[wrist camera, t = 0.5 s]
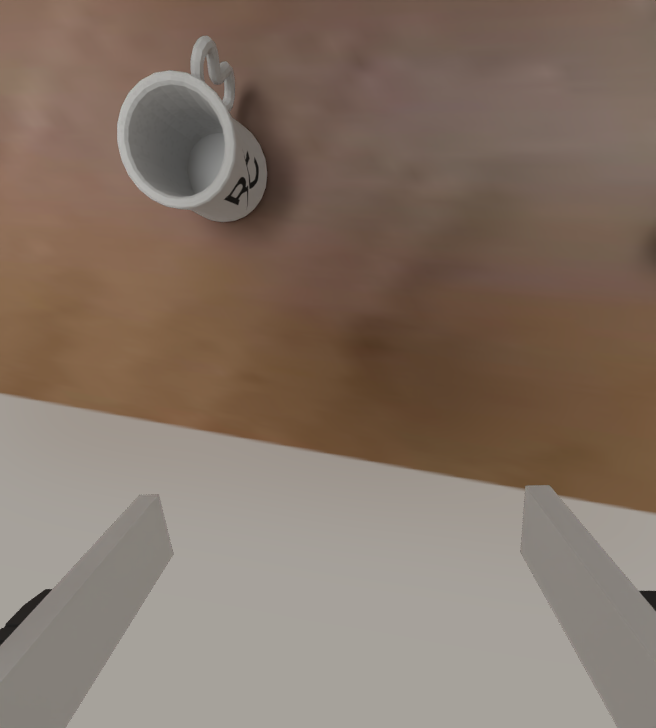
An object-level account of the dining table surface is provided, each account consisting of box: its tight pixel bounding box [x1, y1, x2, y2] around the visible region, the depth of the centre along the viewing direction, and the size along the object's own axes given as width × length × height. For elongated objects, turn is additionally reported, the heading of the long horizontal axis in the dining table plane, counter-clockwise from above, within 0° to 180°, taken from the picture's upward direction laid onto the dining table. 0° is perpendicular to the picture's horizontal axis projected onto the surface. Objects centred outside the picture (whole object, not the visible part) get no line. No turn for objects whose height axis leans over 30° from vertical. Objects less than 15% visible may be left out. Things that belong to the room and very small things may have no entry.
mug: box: [117, 36, 267, 222], centre depth 30 cm, size 12×9×10 cm
